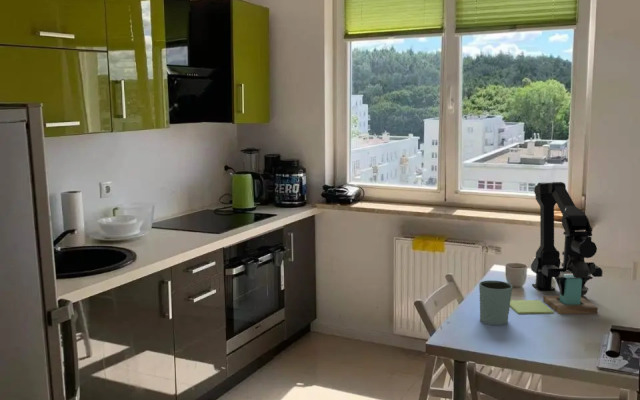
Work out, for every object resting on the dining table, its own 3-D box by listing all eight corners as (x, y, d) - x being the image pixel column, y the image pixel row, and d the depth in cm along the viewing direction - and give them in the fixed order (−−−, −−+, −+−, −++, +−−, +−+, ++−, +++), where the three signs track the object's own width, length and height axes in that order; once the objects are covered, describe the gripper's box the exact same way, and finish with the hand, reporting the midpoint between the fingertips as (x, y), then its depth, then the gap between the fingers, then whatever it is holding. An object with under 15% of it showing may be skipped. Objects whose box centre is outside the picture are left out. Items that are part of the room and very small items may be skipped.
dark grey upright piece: (584, 295, 229) (587, 263, 227) (590, 300, 223) (592, 267, 221) (568, 294, 229) (570, 262, 227) (572, 299, 223) (575, 266, 222)
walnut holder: (543, 301, 222) (543, 295, 222) (579, 300, 223) (579, 295, 222) (558, 313, 209) (559, 307, 209) (597, 313, 210) (597, 307, 209)
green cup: (474, 323, 200) (475, 286, 198) (481, 313, 209) (483, 278, 207) (506, 328, 196) (508, 290, 194) (513, 318, 204) (515, 282, 203)
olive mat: (505, 302, 221) (505, 300, 221) (539, 301, 221) (539, 300, 221) (518, 313, 209) (518, 312, 209) (553, 313, 209) (553, 311, 209)
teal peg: (559, 303, 218) (561, 275, 216) (573, 303, 218) (575, 274, 217) (565, 308, 213) (567, 279, 212) (580, 307, 213) (582, 279, 212)
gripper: (556, 256, 204) (553, 303, 207) (612, 256, 205) (608, 302, 208) (542, 248, 215) (539, 293, 218) (596, 248, 216) (592, 292, 219)
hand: (570, 295), depth 215 cm, fingers closed on teal peg, 5 cm apart
